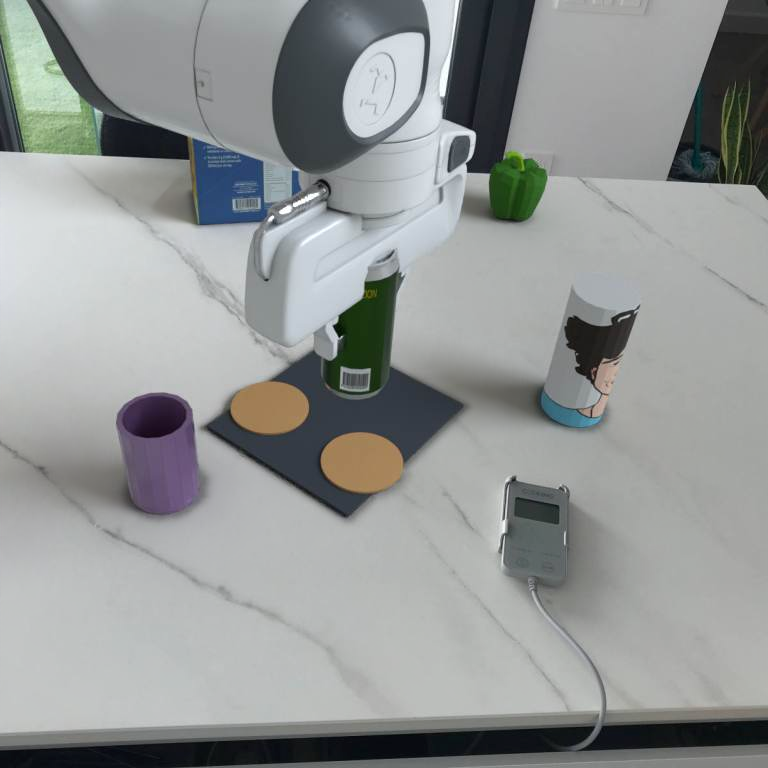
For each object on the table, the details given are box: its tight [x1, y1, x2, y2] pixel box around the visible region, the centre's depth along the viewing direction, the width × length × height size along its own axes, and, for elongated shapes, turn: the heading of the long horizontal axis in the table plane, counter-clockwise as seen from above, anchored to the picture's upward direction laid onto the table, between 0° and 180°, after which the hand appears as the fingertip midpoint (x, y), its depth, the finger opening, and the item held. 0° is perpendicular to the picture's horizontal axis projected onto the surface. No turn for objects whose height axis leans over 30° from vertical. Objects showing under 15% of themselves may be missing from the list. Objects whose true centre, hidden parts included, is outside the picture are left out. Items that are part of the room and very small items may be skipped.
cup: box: [540, 271, 644, 428], centre depth 80 cm, size 7×7×15 cm
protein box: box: [186, 136, 302, 225], centre depth 109 cm, size 10×15×16 cm
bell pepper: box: [488, 150, 548, 222], centre depth 115 cm, size 8×8×10 cm
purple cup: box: [115, 391, 201, 515], centre depth 68 cm, size 6×6×9 cm
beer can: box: [321, 248, 400, 400], centre depth 57 cm, size 5×5×12 cm
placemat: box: [206, 349, 465, 518], centre depth 80 cm, size 20×20×1 cm
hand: (357, 332), depth 58 cm, fingers closed on beer can, 5 cm apart
